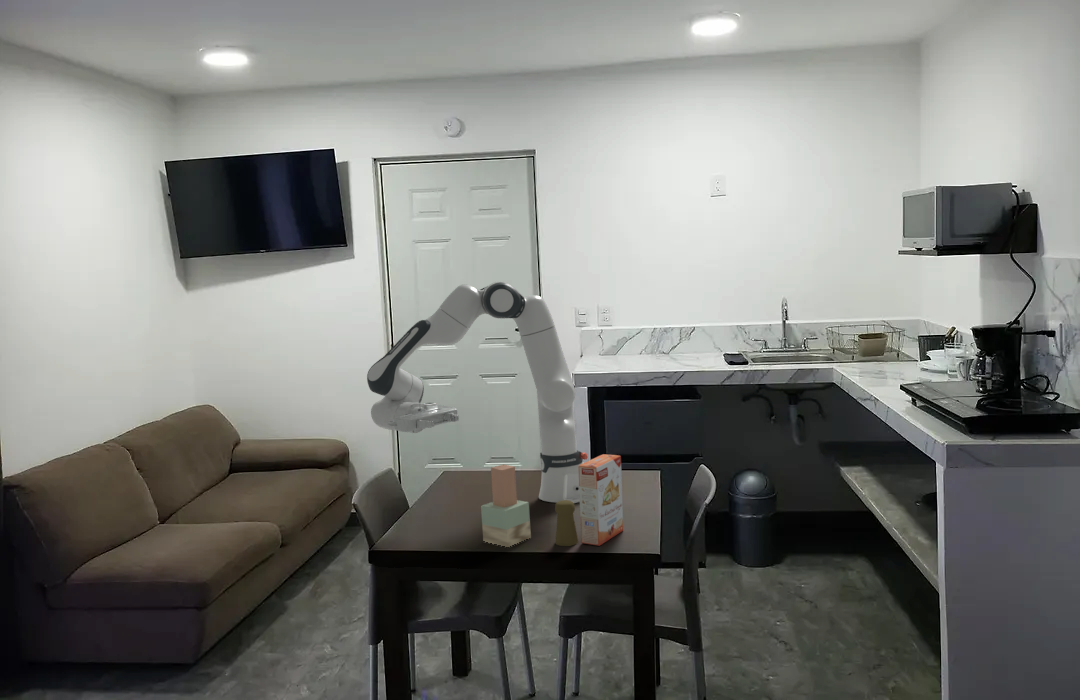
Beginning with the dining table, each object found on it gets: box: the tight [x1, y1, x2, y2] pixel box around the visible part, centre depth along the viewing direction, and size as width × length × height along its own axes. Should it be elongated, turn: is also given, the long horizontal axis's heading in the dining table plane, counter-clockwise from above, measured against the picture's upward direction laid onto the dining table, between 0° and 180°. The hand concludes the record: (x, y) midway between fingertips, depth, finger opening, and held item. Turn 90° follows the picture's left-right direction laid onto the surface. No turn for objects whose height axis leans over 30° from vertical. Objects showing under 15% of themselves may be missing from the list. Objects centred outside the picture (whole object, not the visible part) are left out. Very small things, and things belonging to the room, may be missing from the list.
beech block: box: [481, 520, 532, 548], centre depth 224 cm, size 9×9×5 cm
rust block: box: [490, 464, 518, 508], centre depth 223 cm, size 4×4×10 cm
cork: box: [554, 500, 579, 547], centre depth 219 cm, size 6×6×11 cm
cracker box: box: [578, 453, 624, 547], centre depth 221 cm, size 14×6×21 cm, turn 148°
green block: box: [480, 499, 531, 530], centre depth 224 cm, size 9×9×5 cm
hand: (444, 421), depth 238 cm, fingers open, 8 cm apart
